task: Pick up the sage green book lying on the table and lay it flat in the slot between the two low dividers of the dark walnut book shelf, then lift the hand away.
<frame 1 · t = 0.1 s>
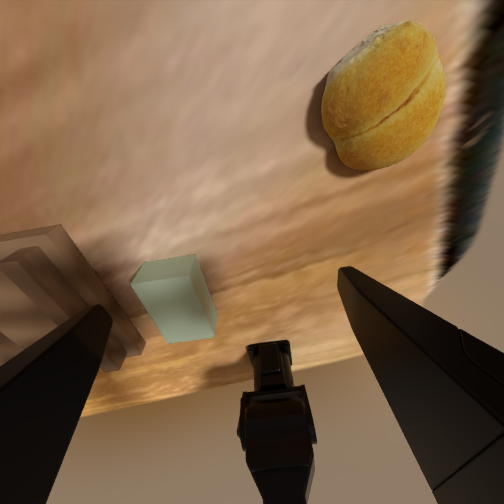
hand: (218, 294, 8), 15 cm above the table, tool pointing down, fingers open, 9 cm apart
book: (184, 288, 28), on the table
book shelf: (45, 305, 28), on the table
bread roll: (369, 106, 18), on the table
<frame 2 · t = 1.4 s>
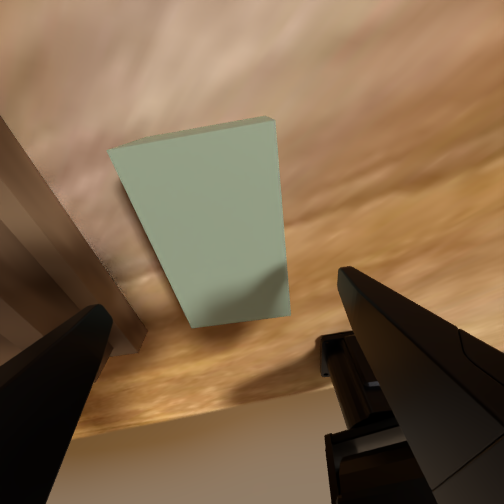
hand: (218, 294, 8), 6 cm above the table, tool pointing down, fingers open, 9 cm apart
book: (226, 217, 14), on the table
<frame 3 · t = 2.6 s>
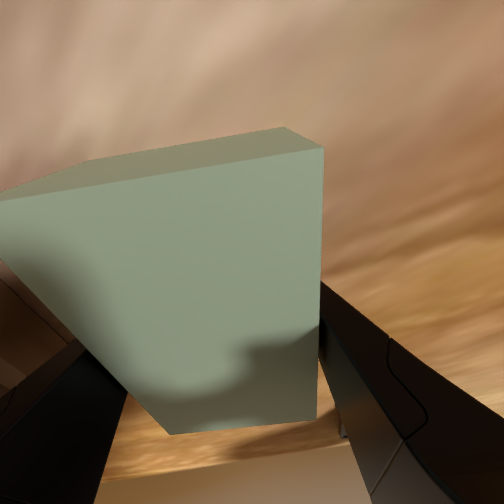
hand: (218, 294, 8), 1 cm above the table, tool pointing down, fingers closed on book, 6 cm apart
book: (221, 270, 10), on the table, touching gripper
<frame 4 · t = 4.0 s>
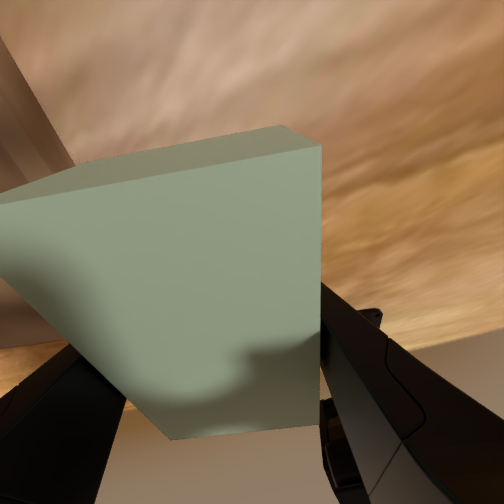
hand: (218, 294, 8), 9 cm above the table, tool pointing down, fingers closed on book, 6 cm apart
book: (221, 272, 9), point 7 cm above the table, touching gripper
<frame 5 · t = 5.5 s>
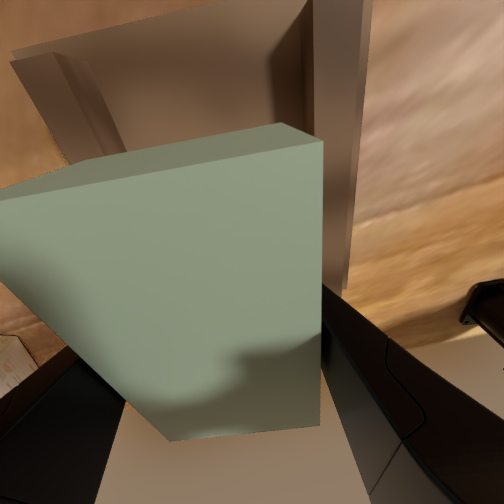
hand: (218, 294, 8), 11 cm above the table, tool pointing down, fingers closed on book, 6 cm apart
book: (220, 272, 9), point 10 cm above the table, touching gripper
coffeecake box: (14, 365, 30), on the table
book shelf: (231, 196, 18), on the table
when the fingers open (5 cm above the table, at t = 7.5 s): book drops 2 cm, resting on book shelf.
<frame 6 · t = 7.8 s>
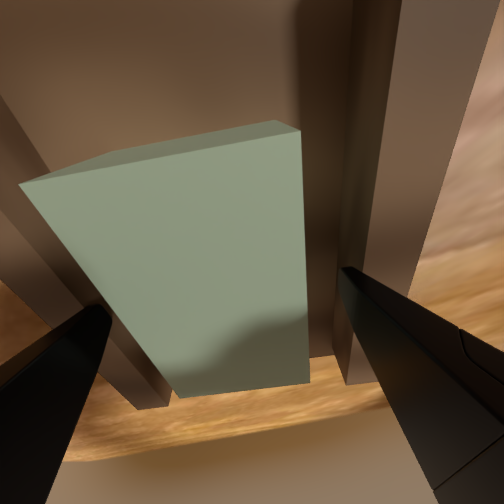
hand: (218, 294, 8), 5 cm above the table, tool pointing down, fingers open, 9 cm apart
book: (224, 251, 11), point 2 cm above the table, touching book shelf
book shelf: (225, 233, 12), on the table
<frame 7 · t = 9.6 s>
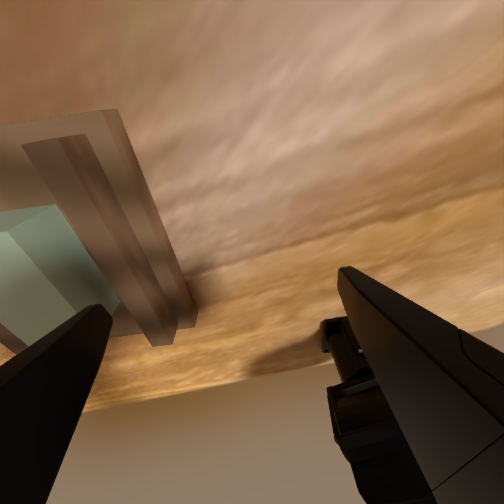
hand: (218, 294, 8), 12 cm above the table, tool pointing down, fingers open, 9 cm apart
book: (58, 264, 19), point 2 cm above the table, touching book shelf
book shelf: (73, 252, 20), on the table
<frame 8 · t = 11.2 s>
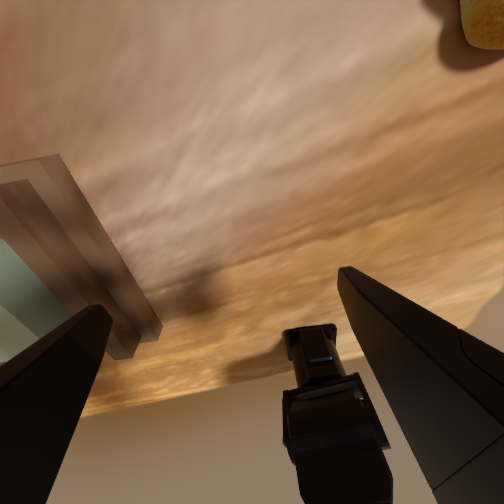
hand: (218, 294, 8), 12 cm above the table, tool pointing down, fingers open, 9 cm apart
book: (23, 288, 21), point 2 cm above the table, touching book shelf
book shelf: (39, 275, 22), on the table
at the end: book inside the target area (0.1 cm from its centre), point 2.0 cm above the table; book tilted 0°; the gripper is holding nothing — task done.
